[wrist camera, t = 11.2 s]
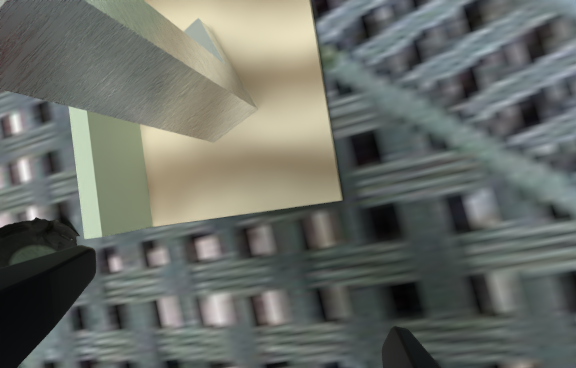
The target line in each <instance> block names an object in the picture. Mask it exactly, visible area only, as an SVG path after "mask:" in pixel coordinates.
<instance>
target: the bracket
mask: <svg viewBox="0 0 576 368" xmlns="http://www.w3.org/2000/svg"><path fill="white" fill-rule="evenodd" d="M0 89H2V90H6V91H10V92H14V93H18V94H22V95H26V96H30V97H34V98H38V99H42V100H46V101H50V102H54V103H58V104H62V105H66V106H70V107H74V108H78V109H82V110H86V111H90V112H94V113H98V114H102V115H106V116H110V117H114V118H117V119H121V120H125V121H129V122H133V123H137V124H141V125H145V126H149V127H153V128H157V129H161V130H165V131H169V132H173V133H177V134H181V135H185V136H189V137H193V138H197V139H201V140H205V141H209V142H213V143H214V142H215V141H217V140H218V139H219V138H221V137H222V136H223V135H225V134H226V133H227V132H229V131H230V130H231V129H233V128H234V127H235V126H237V125H238V124H240V123H241V122H242V121H244V120H245V119H246V118H248V117H249V116H250V115H252V114H253V113H254V112H256V111H257V110H258V109H257V107H256V105H255V104H254V102H253V100H252V99H251V97H250V95H249V93H248V92H247V90H246V88H245V87H244V85H243V83H242V82H241V80H240V78H239V76H238V75H237V73H236V71H235V70H234V68H233V66H232V64H231V63H230V61H229V59H228V58H227V56H226V54H225V53H224V51H223V49H222V47H221V46H220V44H219V42H218V41H217V39H216V37H215V35H214V34H213V32H212V30H211V29H210V28H209V27H208V26H207V25H206V24H205V23H204V22H202V21H201V20H200V19H199V18H198V19H196V20H195V21H194V22H193V23H192V24H191V25H190V26H189V27H188V28H187V29H185V30H184V31H182V30H181V29H179V28H178V27H177V26H176V25H174V24H173V23H172V22H171V21H169V20H168V19H167V18H166V17H164V16H163V15H162V14H161V13H159V12H158V11H157V10H155V9H154V8H153V7H152V6H150V5H149V4H148V3H147V2H145V1H144V0H0Z"/></svg>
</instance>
